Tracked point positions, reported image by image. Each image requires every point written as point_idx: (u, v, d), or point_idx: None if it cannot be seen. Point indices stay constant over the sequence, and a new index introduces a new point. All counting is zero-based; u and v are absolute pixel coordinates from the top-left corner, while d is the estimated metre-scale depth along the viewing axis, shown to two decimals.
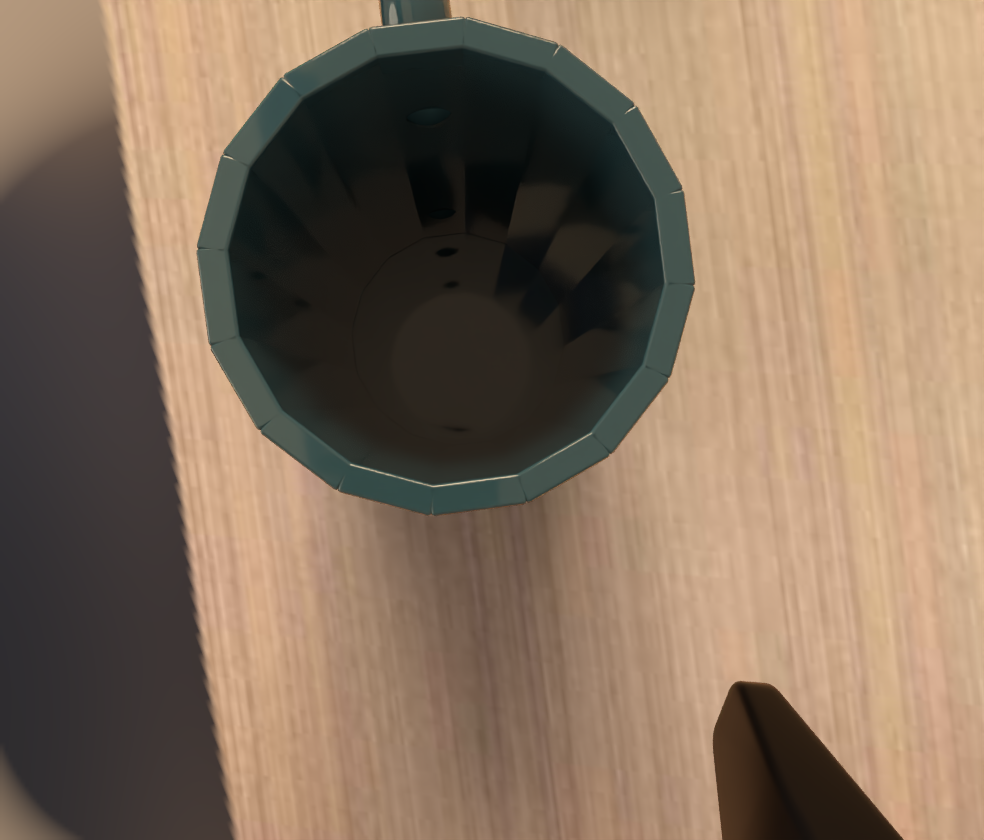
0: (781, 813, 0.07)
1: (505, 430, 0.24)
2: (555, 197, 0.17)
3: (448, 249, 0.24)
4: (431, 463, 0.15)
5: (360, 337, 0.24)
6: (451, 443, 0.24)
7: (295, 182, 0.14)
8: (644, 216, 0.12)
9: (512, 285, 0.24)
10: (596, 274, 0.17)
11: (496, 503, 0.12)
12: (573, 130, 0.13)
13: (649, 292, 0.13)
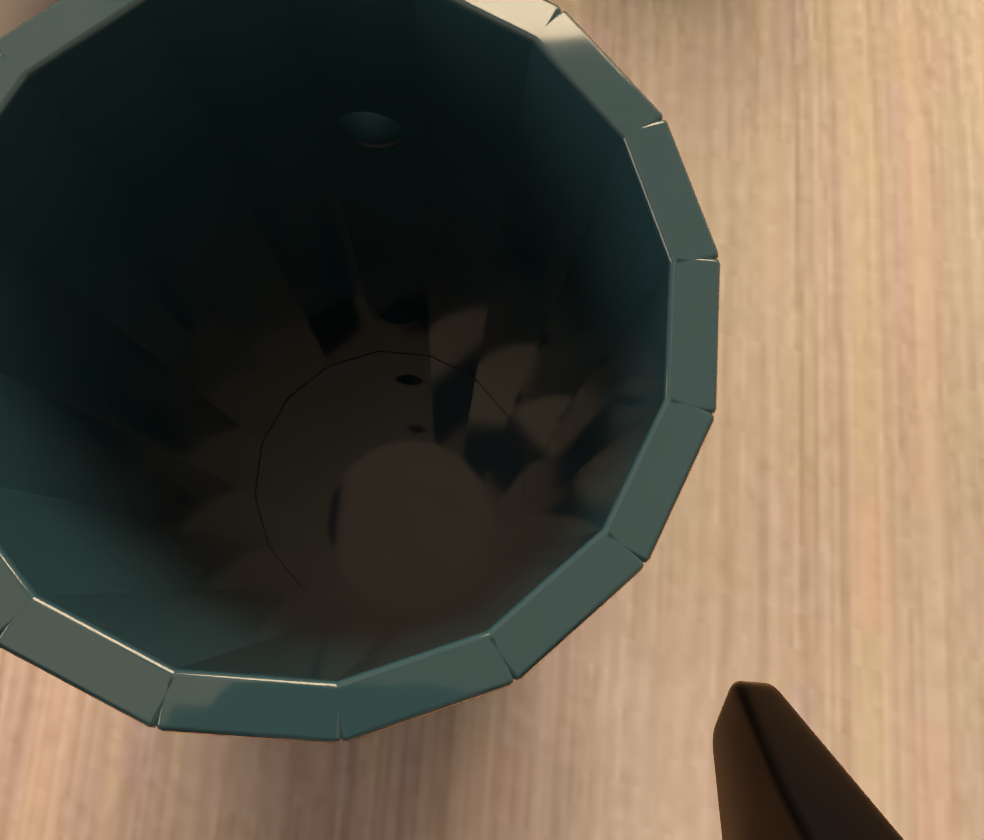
0: (781, 813, 0.07)
1: (425, 609, 0.18)
2: (533, 298, 0.12)
3: (405, 370, 0.19)
4: (258, 630, 0.10)
5: (271, 452, 0.19)
6: (351, 611, 0.18)
7: (143, 160, 0.09)
8: (649, 299, 0.08)
9: (473, 429, 0.19)
10: (570, 414, 0.12)
11: (284, 731, 0.06)
12: (565, 163, 0.08)
13: (637, 421, 0.08)
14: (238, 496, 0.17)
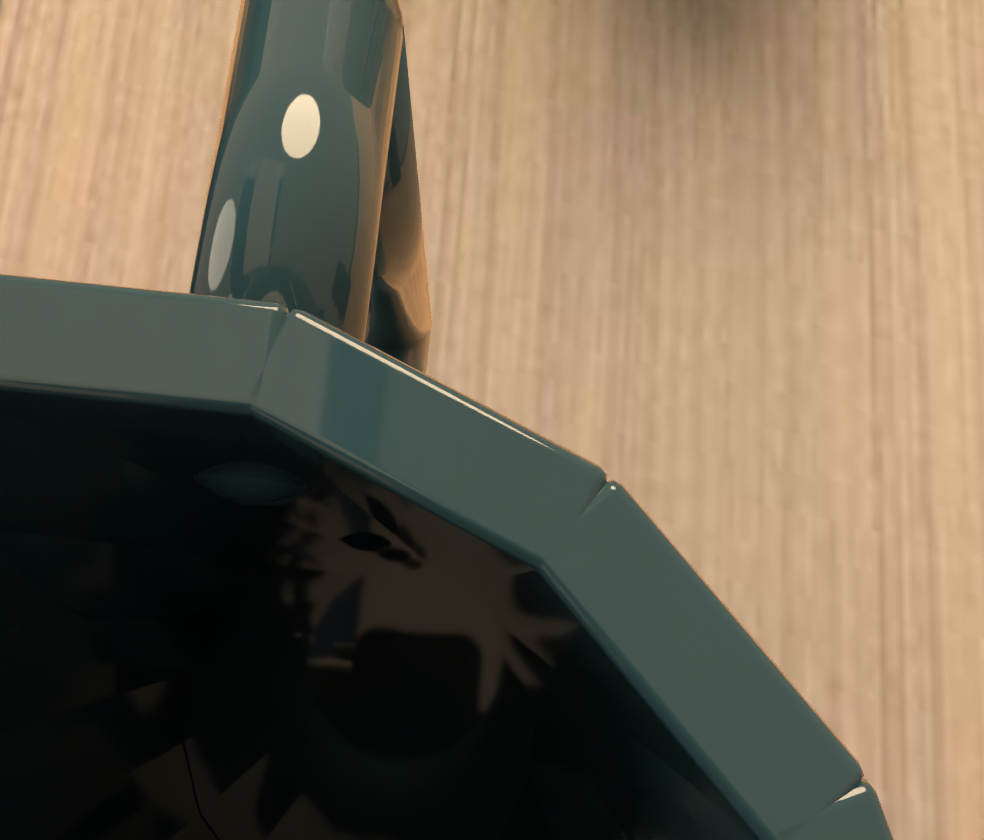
0: None
1: None
2: (545, 652, 0.08)
3: (382, 573, 0.15)
4: None
5: (206, 683, 0.15)
6: None
7: None
8: None
9: (469, 652, 0.15)
10: (601, 825, 0.08)
11: None
12: (608, 687, 0.04)
13: None
14: (148, 779, 0.13)
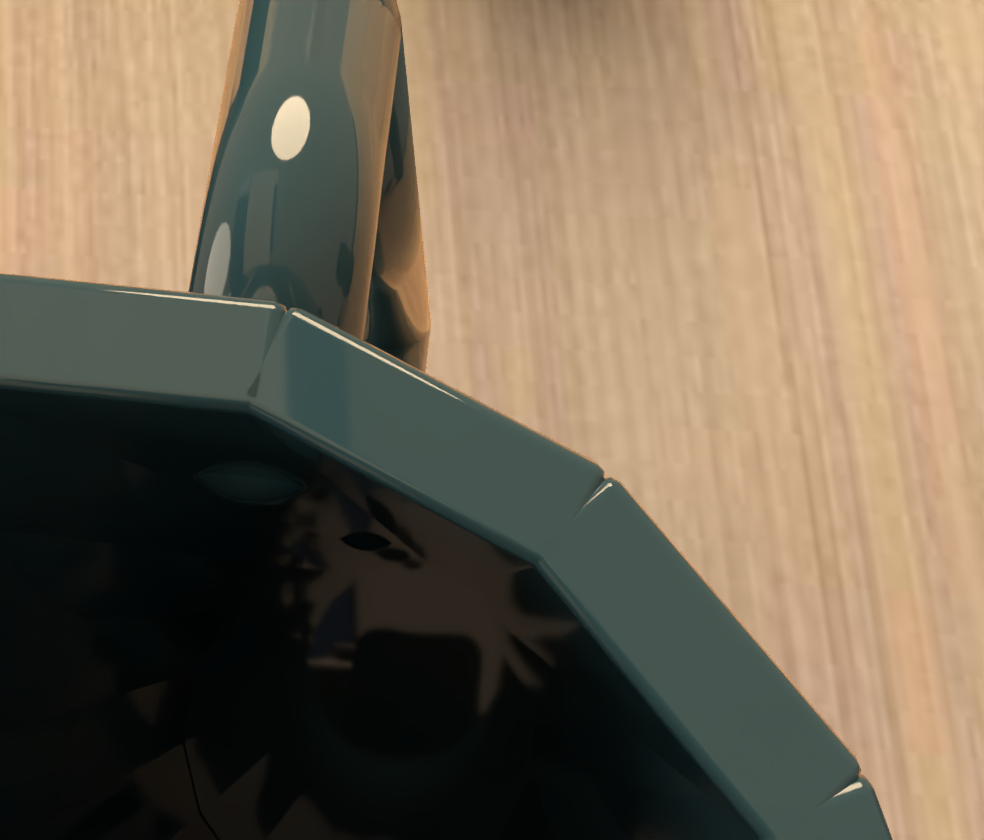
0: None
1: None
2: (545, 651, 0.08)
3: (382, 572, 0.15)
4: None
5: (206, 683, 0.15)
6: None
7: None
8: None
9: (468, 651, 0.15)
10: (601, 824, 0.08)
11: None
12: (608, 687, 0.04)
13: None
14: (148, 779, 0.13)
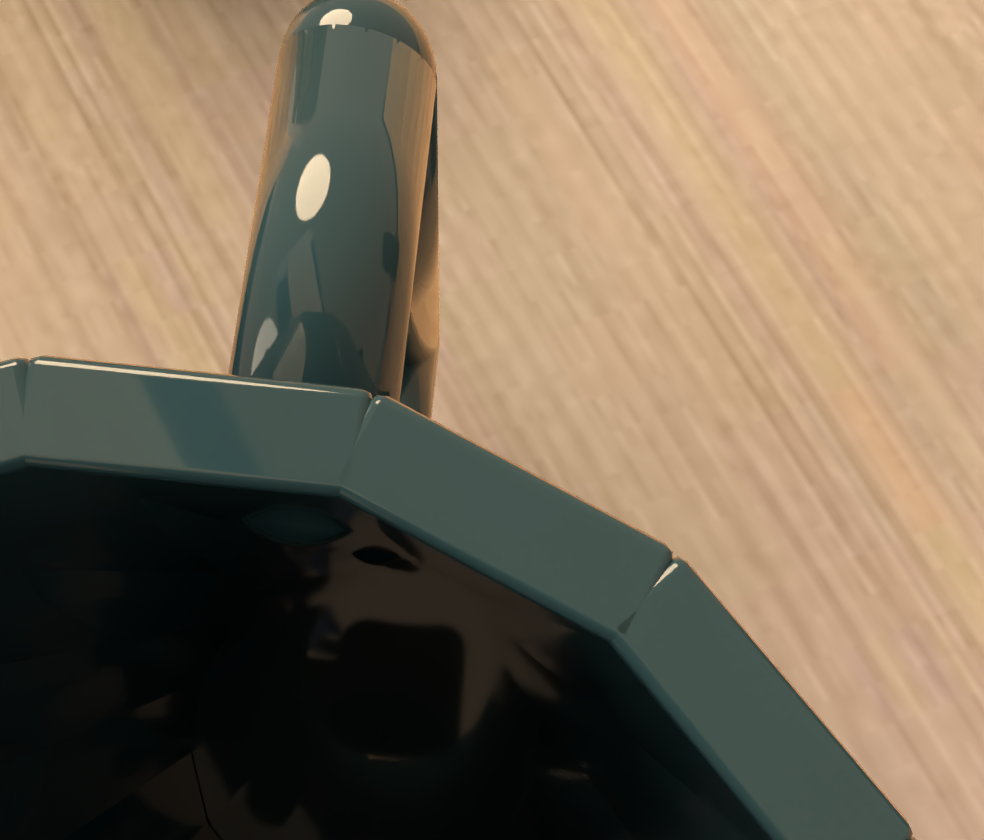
0: None
1: None
2: (565, 675, 0.08)
3: (387, 583, 0.15)
4: None
5: (214, 693, 0.15)
6: None
7: None
8: None
9: (473, 660, 0.15)
10: None
11: None
12: (654, 735, 0.04)
13: None
14: (160, 790, 0.13)
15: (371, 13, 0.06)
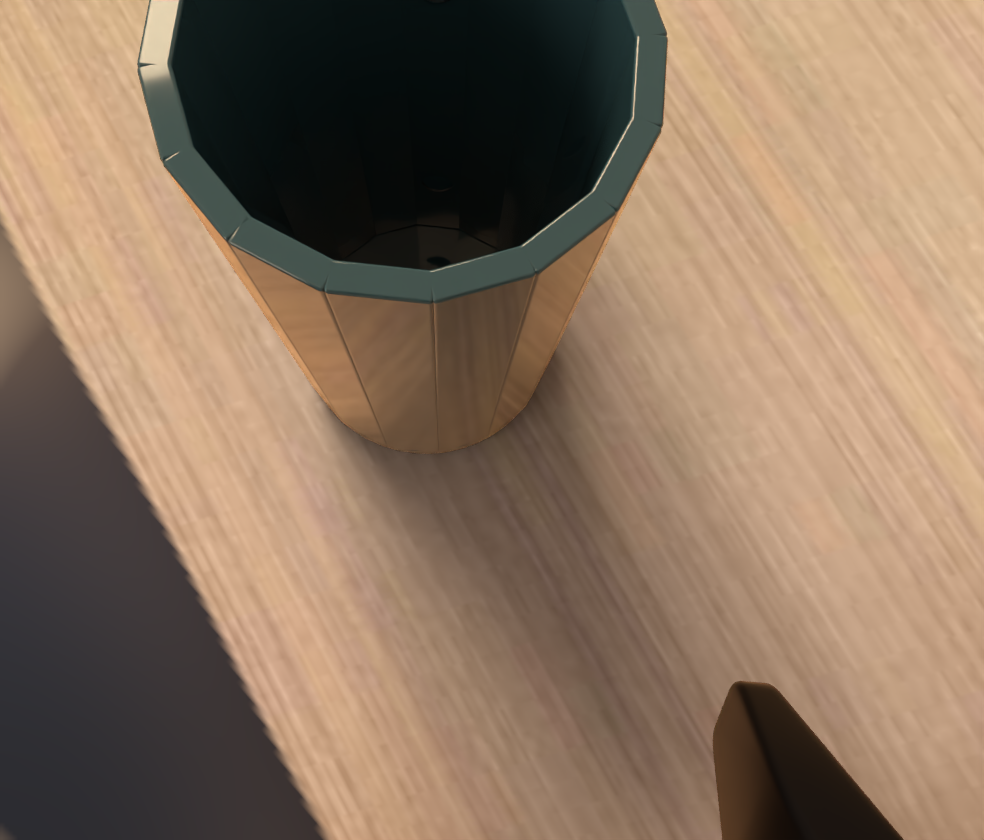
0: (781, 813, 0.07)
1: None
2: (546, 132, 0.16)
3: (438, 240, 0.24)
4: None
5: None
6: None
7: None
8: (624, 73, 0.12)
9: None
10: None
11: (399, 295, 0.10)
12: None
13: None
14: None
15: None
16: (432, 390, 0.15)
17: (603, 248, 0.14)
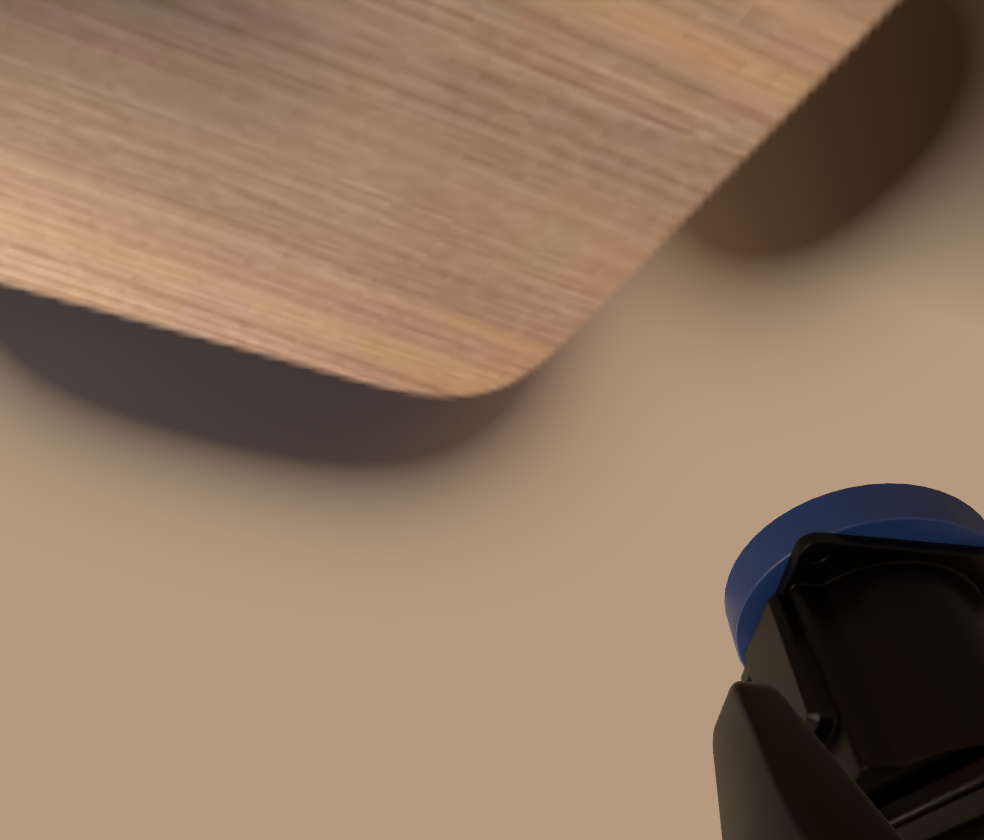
0: (781, 813, 0.07)
1: None
2: None
3: None
4: None
5: None
6: None
7: None
8: None
9: None
10: None
11: None
12: None
13: None
14: None
15: None
16: None
17: None
